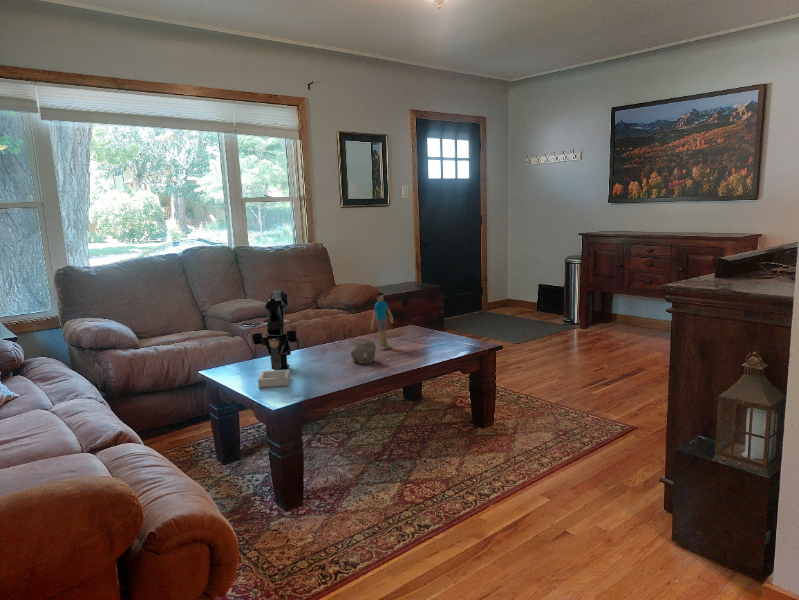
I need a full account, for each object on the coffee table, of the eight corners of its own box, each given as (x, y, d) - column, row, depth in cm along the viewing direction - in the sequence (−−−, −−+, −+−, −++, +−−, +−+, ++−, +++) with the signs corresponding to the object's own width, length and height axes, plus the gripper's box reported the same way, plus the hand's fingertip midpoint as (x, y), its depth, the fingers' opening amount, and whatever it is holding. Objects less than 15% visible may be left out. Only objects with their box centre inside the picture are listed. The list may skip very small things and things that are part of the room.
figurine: (377, 352, 279) (374, 295, 274) (368, 350, 284) (366, 294, 279) (399, 346, 290) (397, 291, 285) (391, 344, 295) (389, 290, 290)
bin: (263, 379, 241) (262, 371, 240) (290, 378, 242) (289, 369, 241) (258, 388, 229) (257, 379, 228) (287, 386, 230) (286, 377, 229)
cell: (275, 366, 236) (273, 337, 234) (282, 367, 235) (280, 338, 232) (269, 368, 233) (267, 339, 231) (276, 369, 231) (274, 340, 229)
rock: (346, 353, 257) (348, 343, 264) (353, 370, 261) (355, 360, 268) (373, 347, 254) (375, 337, 261) (380, 364, 259) (381, 354, 266)
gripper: (250, 314, 232) (249, 346, 224) (294, 312, 235) (295, 343, 226) (254, 328, 241) (253, 359, 233) (296, 325, 244) (297, 356, 235)
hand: (274, 354), depth 231 cm, fingers closed on cell, 4 cm apart
